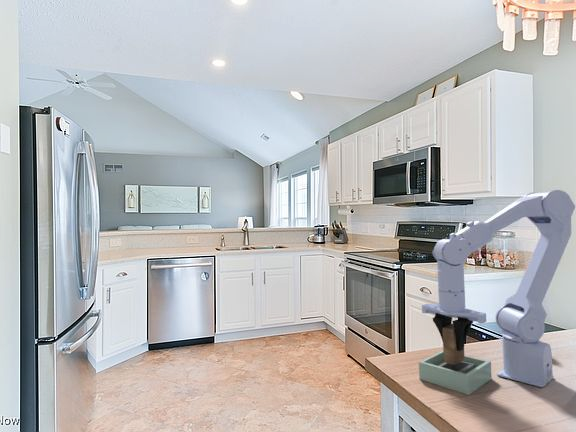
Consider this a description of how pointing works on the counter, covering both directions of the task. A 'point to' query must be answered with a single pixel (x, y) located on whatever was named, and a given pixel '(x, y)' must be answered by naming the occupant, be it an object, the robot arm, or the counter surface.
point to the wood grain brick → (451, 346)
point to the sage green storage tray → (455, 372)
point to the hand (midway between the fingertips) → (453, 348)
